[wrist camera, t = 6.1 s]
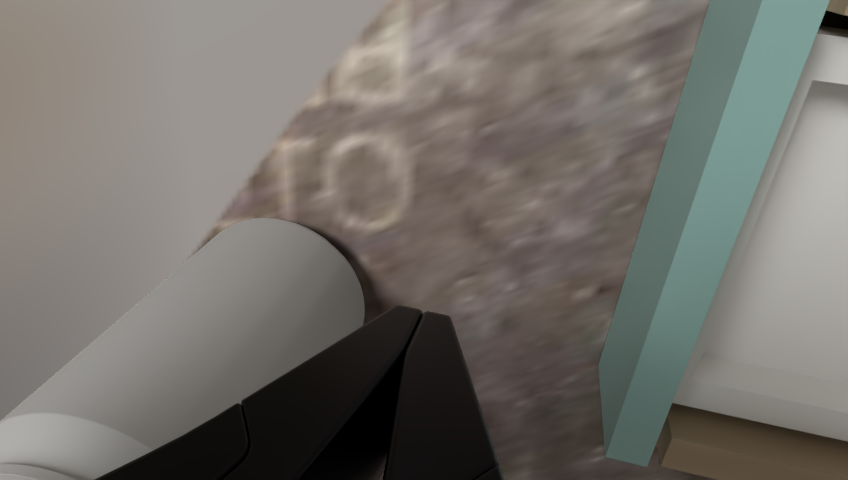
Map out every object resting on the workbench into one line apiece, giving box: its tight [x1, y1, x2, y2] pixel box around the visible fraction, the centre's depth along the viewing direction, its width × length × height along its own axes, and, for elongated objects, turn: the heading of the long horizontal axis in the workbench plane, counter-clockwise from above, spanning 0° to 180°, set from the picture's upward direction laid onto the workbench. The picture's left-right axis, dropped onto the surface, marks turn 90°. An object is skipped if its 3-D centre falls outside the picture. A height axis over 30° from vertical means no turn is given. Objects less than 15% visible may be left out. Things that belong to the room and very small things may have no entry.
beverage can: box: [0, 218, 365, 480], centre depth 18 cm, size 6×6×12 cm
